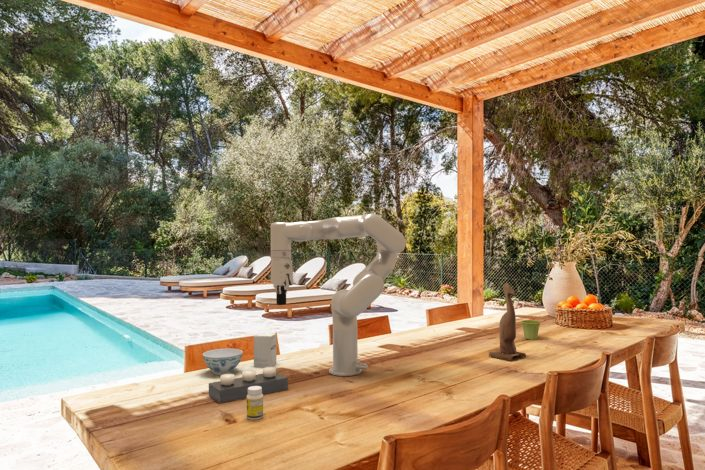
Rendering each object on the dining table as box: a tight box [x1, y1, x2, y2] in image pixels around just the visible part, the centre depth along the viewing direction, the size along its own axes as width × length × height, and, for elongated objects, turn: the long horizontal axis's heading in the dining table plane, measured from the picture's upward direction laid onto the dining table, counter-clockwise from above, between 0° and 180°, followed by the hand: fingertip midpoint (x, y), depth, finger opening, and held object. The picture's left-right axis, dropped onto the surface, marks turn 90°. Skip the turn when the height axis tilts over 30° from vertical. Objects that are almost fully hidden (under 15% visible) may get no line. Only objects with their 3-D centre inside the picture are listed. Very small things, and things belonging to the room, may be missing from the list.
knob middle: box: [241, 369, 257, 382], centre depth 163 cm, size 4×4×6 cm
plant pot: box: [520, 319, 541, 341], centre depth 247 cm, size 9×9×9 cm
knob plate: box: [208, 371, 289, 404], centre depth 163 cm, size 24×10×4 cm, turn 125°
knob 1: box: [219, 373, 235, 387], centre depth 158 cm, size 4×4×6 cm
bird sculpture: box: [488, 282, 527, 362], centre depth 208 cm, size 11×12×32 cm
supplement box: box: [253, 332, 277, 368], centre depth 199 cm, size 7×7×13 cm
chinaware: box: [202, 348, 244, 376], centre depth 188 cm, size 15×15×8 cm
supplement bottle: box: [246, 386, 264, 421], centre depth 140 cm, size 5×5×8 cm
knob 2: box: [262, 366, 277, 378], centre depth 167 cm, size 4×4×6 cm
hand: (281, 304), depth 181 cm, fingers closed
